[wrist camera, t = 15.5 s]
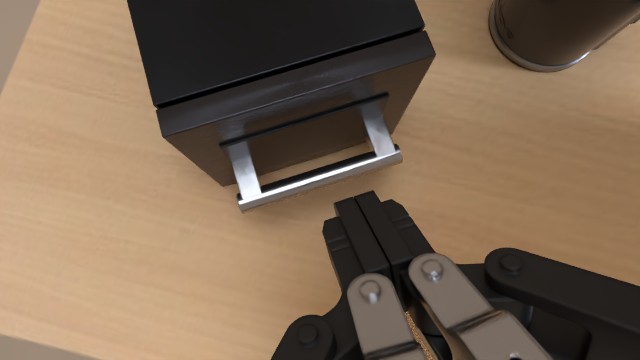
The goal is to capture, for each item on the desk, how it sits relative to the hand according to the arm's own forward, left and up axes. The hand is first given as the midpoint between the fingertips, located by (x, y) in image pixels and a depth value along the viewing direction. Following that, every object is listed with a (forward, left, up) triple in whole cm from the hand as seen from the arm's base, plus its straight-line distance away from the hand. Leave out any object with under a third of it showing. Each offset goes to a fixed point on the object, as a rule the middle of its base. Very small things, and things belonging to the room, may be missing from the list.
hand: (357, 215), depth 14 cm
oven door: (+1, -6, -17) cm, 18 cm away
